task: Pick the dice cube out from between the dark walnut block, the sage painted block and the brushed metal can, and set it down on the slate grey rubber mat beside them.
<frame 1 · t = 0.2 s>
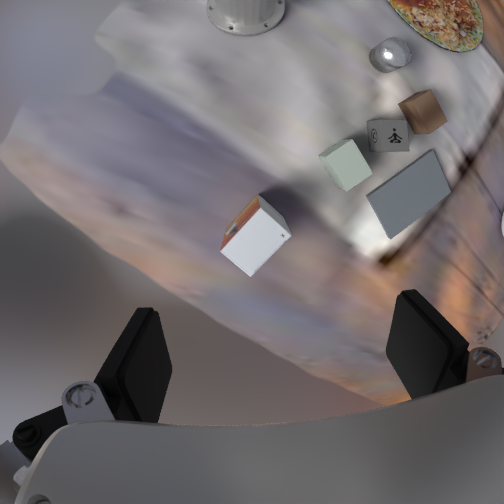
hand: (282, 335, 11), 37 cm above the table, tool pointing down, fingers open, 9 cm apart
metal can: (382, 60, 37), on the table
sage block: (339, 163, 44), on the table
walnut block: (415, 113, 41), on the table
small box: (253, 222, 47), on the table
slate mat: (410, 192, 45), on the table
dice cube: (380, 136, 42), on the table
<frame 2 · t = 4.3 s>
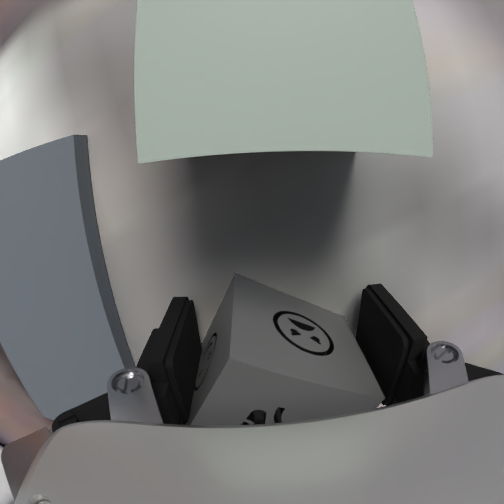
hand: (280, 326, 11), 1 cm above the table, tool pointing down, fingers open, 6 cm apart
sage block: (269, 84, 9), on the table
slate mat: (48, 317, 12), on the table
flower in vase: (18, 459, 20), on the table
dice cube: (265, 339, 13), on the table, touching gripper
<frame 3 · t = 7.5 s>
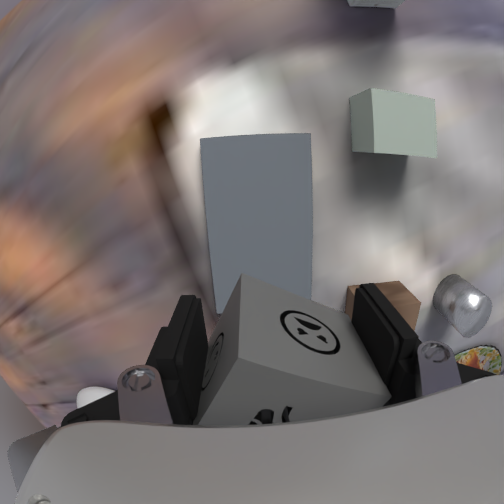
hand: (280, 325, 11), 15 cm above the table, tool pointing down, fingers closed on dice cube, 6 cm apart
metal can: (448, 293, 29), on the table
sage block: (380, 126, 23), on the table
walnut block: (371, 304, 29), on the table
rice dish: (439, 405, 37), on the table
slate mat: (259, 226, 26), on the table
flower in vase: (111, 406, 34), on the table
dice cube: (271, 338, 13), point 14 cm above the table, touching gripper
when the fingers open (3 cm above the table, at t = 10.5 s): dice cube drops 2 cm, resting on slate mat.
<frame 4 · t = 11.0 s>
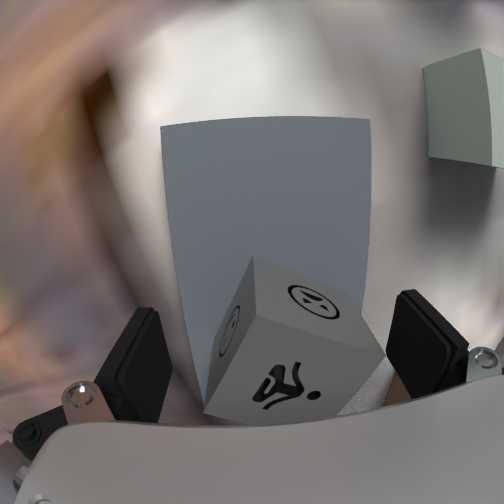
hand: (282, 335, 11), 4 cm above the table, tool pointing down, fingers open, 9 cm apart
sage block: (464, 119, 12), on the table
walnut block: (423, 376, 18), on the table
slate mat: (273, 285, 15), on the table
dice cube: (278, 315, 14), point 1 cm above the table, touching slate mat
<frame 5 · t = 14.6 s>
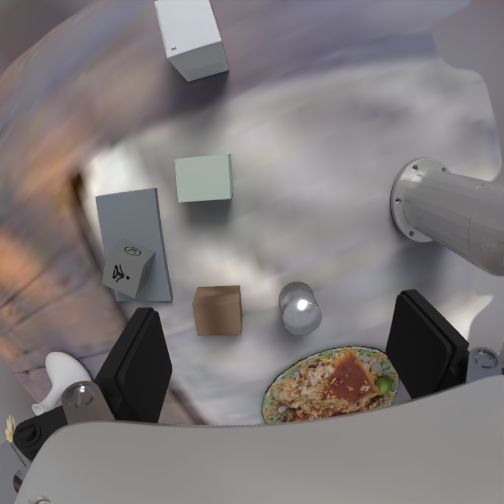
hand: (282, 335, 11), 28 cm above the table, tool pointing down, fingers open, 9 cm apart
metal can: (296, 297, 42), on the table
sage block: (208, 175, 36), on the table
walnut block: (220, 301, 42), on the table
small box: (201, 51, 31), on the table
rice dish: (332, 397, 50), on the table
slate mat: (134, 247, 39), on the table
flower in vase: (69, 368, 48), on the table
dice cube: (135, 260, 39), point 1 cm above the table, touching slate mat
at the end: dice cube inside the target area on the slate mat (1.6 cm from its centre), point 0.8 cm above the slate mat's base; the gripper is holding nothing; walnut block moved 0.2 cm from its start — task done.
